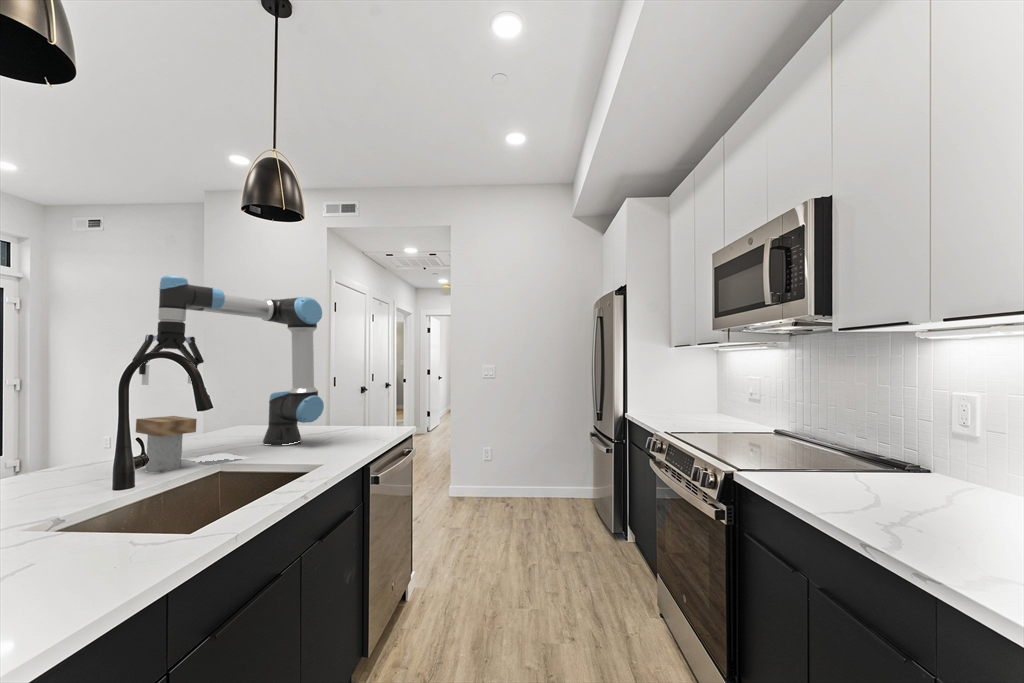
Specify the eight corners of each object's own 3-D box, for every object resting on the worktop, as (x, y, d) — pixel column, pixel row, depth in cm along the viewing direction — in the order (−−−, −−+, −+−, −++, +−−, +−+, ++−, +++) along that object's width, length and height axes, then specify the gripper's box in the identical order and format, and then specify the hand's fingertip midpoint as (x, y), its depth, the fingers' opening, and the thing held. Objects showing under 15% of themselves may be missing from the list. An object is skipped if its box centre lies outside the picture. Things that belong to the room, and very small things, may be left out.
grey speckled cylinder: (166, 473, 148) (168, 434, 149) (137, 472, 149) (139, 434, 149) (187, 466, 158) (189, 430, 159) (160, 465, 158) (162, 430, 159)
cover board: (172, 428, 162) (173, 415, 163) (195, 432, 155) (196, 418, 155) (135, 432, 153) (136, 418, 153) (158, 436, 146) (159, 422, 146)
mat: (223, 452, 182) (223, 451, 182) (253, 458, 172) (253, 457, 172) (178, 459, 168) (178, 458, 168) (208, 466, 158) (208, 465, 158)
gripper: (205, 324, 169) (202, 382, 168) (121, 318, 147) (118, 384, 146) (216, 324, 165) (213, 383, 164) (132, 317, 143) (129, 385, 142)
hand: (168, 384), depth 155 cm, fingers open, 13 cm apart
